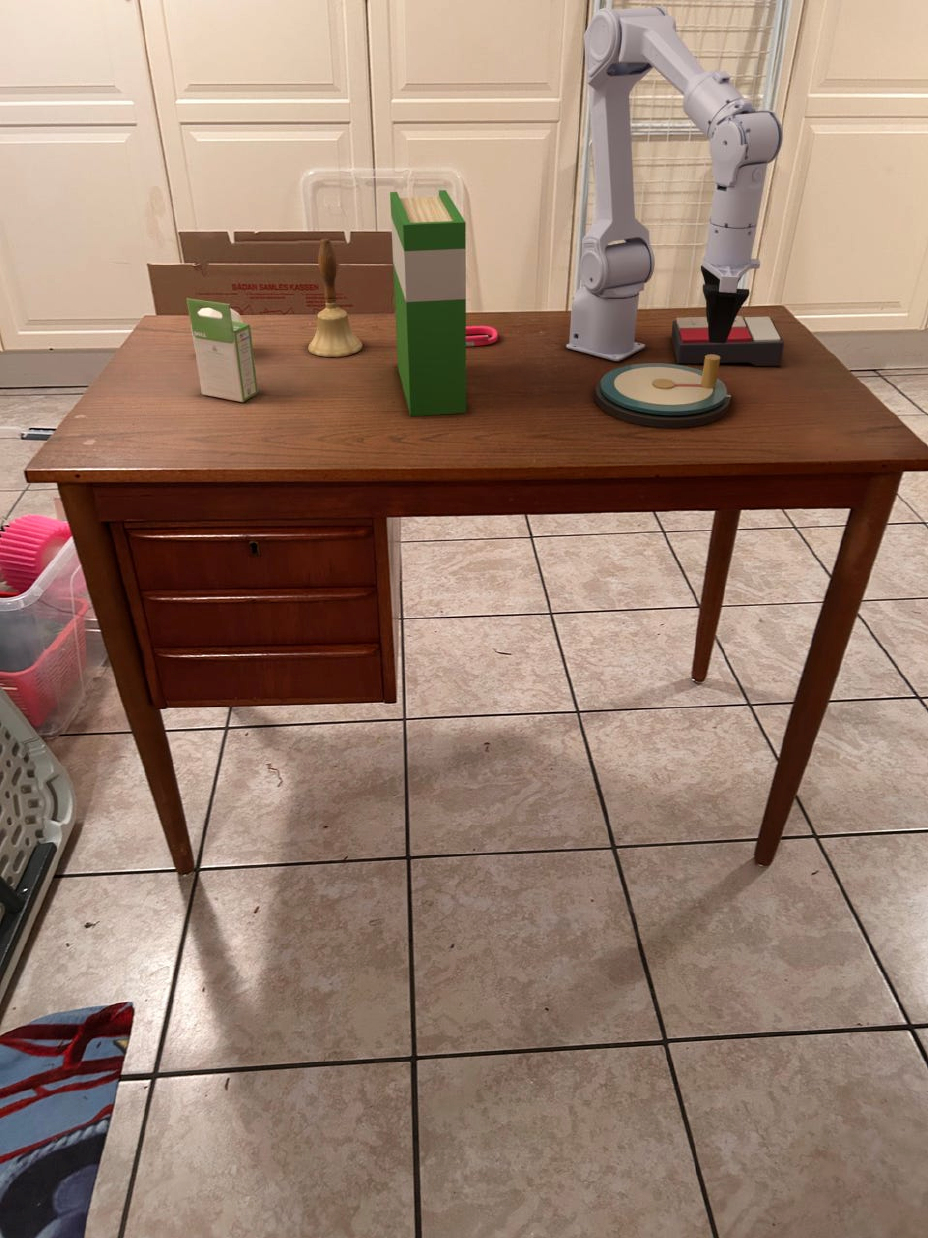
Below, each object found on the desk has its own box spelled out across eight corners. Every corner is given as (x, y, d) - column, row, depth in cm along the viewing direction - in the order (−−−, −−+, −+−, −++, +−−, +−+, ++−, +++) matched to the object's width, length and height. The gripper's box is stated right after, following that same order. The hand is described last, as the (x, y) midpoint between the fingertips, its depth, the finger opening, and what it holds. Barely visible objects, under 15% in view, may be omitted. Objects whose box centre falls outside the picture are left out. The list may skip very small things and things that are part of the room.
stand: (569, 403, 129) (569, 395, 129) (638, 366, 141) (639, 357, 140) (687, 440, 120) (689, 431, 119) (752, 396, 131) (753, 387, 130)
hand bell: (298, 353, 145) (286, 243, 136) (325, 335, 151) (315, 229, 142) (346, 360, 142) (338, 249, 133) (371, 342, 149) (365, 235, 139)
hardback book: (397, 367, 140) (390, 191, 126) (447, 364, 141) (445, 189, 127) (410, 416, 126) (403, 224, 112) (466, 412, 127) (465, 222, 113)
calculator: (672, 315, 148) (772, 312, 146) (670, 342, 150) (768, 340, 149) (679, 339, 139) (785, 337, 137) (677, 368, 141) (781, 366, 140)
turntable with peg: (605, 414, 123) (608, 379, 120) (596, 365, 137) (599, 333, 134) (736, 416, 122) (743, 381, 120) (715, 367, 136) (720, 335, 133)
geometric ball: (220, 368, 148) (217, 316, 148) (258, 357, 143) (255, 304, 144) (181, 356, 141) (178, 303, 141) (220, 345, 137) (217, 290, 137)
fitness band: (448, 347, 147) (448, 338, 146) (443, 335, 152) (443, 325, 151) (500, 345, 148) (500, 335, 147) (494, 332, 152) (494, 322, 152)
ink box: (260, 393, 132) (247, 295, 125) (243, 404, 129) (228, 304, 122) (219, 385, 135) (203, 289, 127) (201, 395, 132) (184, 297, 124)
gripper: (771, 239, 111) (751, 353, 119) (762, 209, 123) (743, 315, 131) (709, 236, 112) (693, 349, 120) (705, 207, 124) (691, 312, 132)
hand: (715, 331), depth 125 cm, fingers open, 7 cm apart
